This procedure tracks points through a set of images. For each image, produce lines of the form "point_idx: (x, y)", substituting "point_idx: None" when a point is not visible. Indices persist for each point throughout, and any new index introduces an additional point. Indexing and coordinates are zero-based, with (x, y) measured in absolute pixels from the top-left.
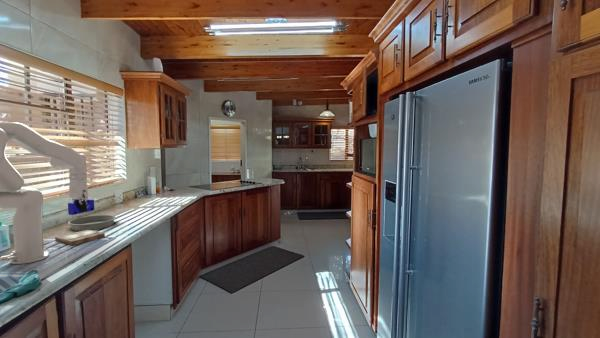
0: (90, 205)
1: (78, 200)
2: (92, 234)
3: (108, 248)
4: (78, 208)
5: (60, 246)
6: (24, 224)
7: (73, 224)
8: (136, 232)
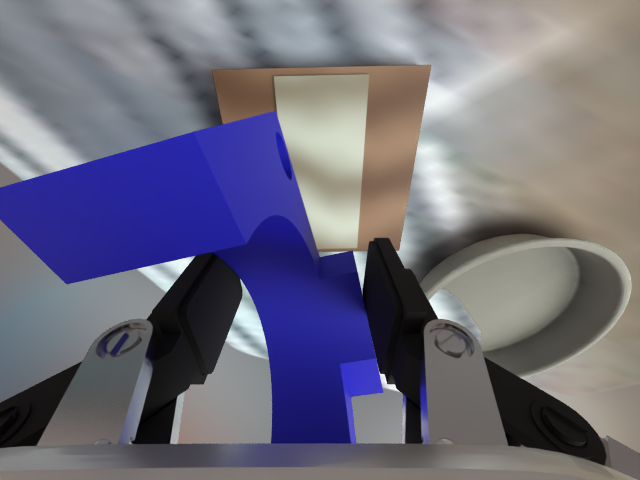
0: (273, 381)
1: (416, 420)
2: None
3: (13, 153)
4: (368, 291)
5: (259, 17)
6: None
7: (528, 243)
8: None
